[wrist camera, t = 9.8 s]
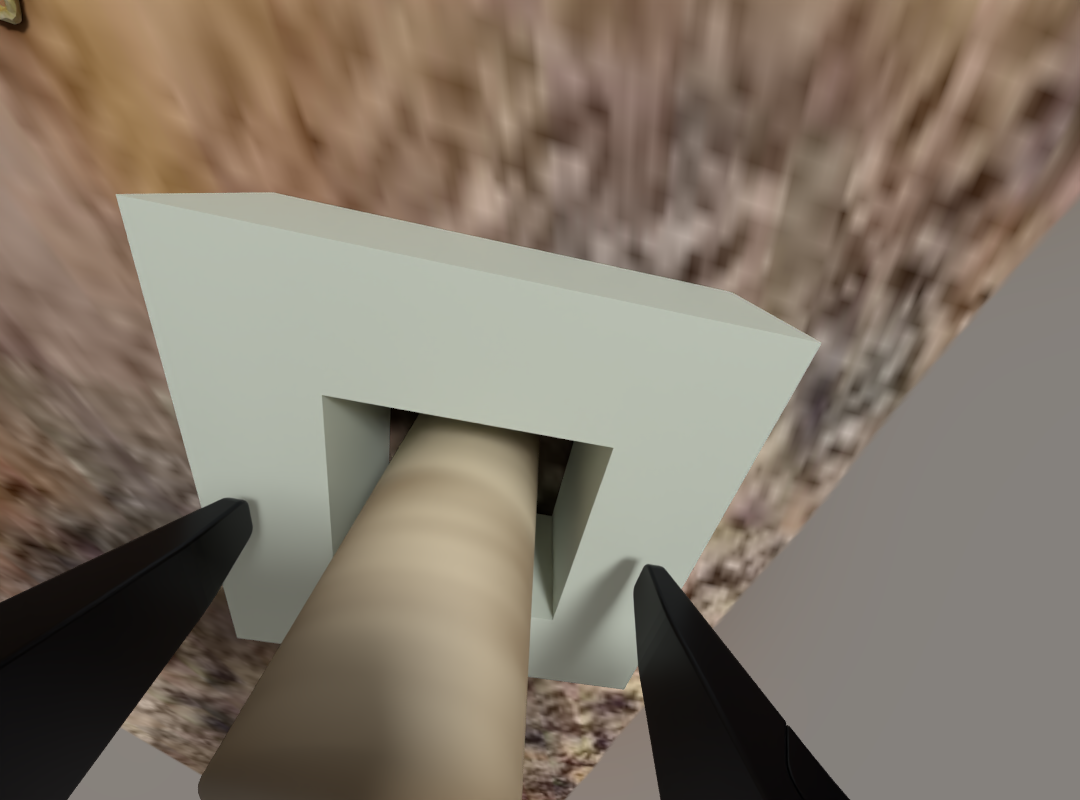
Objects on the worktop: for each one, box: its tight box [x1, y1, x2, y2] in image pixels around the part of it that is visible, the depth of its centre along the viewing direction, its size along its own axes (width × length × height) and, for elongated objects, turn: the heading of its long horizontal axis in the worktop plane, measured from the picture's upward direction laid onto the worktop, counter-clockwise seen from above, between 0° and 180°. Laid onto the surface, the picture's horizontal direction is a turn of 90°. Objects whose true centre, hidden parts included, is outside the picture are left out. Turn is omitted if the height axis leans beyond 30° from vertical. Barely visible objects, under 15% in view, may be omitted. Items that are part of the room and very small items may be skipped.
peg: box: [198, 413, 540, 800], centre depth 9 cm, size 4×4×9 cm
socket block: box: [116, 192, 821, 689], centre depth 11 cm, size 12×12×4 cm
